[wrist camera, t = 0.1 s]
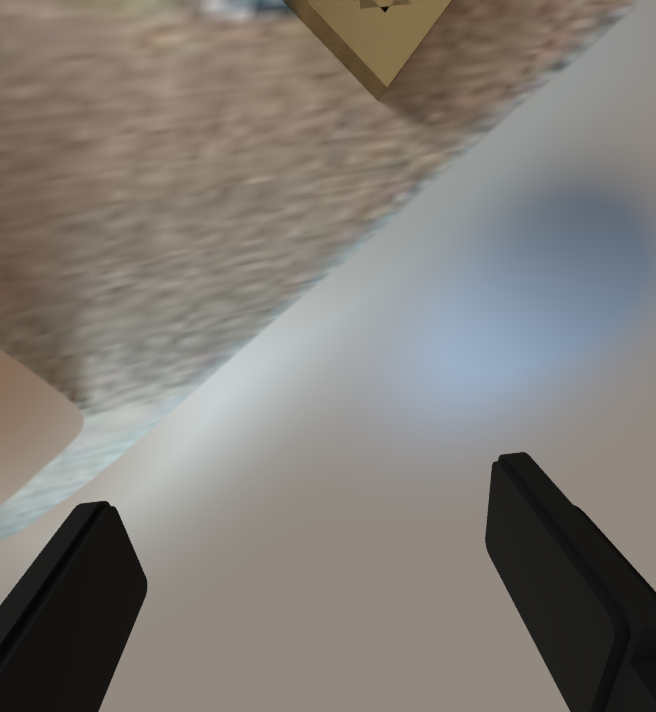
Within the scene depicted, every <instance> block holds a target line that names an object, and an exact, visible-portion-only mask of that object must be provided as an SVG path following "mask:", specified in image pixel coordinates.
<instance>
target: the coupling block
mask: <svg viewBox="0 0 656 712" xmlns="http://www.w3.org/2000/svg"><path fill="white" fill-rule="evenodd" d="M283 1H284V2H285V4H286V5H287V6H288V7H289V8H290V9H291V10H292V11H293V12H294V13H295V14H296V15H297V16H298V17H299V18H300V19H301V20H302V21H303V22H304V24H305V25H306V26H307V27H308V28H309V29H310V30H311V31H312V32H313V33H314V34H315V35H316V36H317V37H318V38H319V39H320V40H321V41H322V42H323V43H324V45H325V46H326V47H327V48H328V49H329V50H330V51H331V52H332V53H333V54H334V55H335V56H336V57H337V58H338V59H339V60H340V61H341V62H342V63H343V65H344V66H345V67H346V68H347V69H348V70H349V71H350V72H351V73H352V74H353V75H354V76H355V77H356V78H357V79H358V80H359V81H360V82H361V83H362V84H363V86H364V87H365V88H366V89H367V90H368V91H369V92H370V93H371V94H372V95H373V96H374V97H375V98H376V99H377V100H379V98H380V97H381V96H382V94H383V93H384V92H385V90H386V89H387V88H388V86H389V85H390V84H391V82H392V81H393V80H394V78H395V77H396V75H397V74H398V73H399V71H400V70H401V69H402V67H403V66H404V65H405V63H406V62H407V61H408V59H409V58H410V57H411V55H412V54H413V52H414V51H415V50H416V48H417V47H418V46H419V44H420V43H421V42H422V40H423V39H424V38H425V36H426V35H427V34H428V32H429V31H430V29H431V28H432V27H433V25H434V24H435V23H436V21H437V20H438V19H439V17H440V16H441V15H442V13H443V12H444V11H445V9H446V8H447V6H448V5H449V4H450V2H451V1H452V0H283Z"/></svg>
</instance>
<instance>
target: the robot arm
mask: <svg viewBox="0 0 656 712" xmlns="http://www.w3.org/2000/svg"><path fill="white" fill-rule="evenodd" d="M485 542H486V548H487V551H488V554H489V556H490V558H491V560H492V562H493V563H494V565H495V567H496V569H497V571H498V573H499V575H500V577H501V579H502V581H503V583H504V584H505V587H506V589H507V590H508V592H509V594H510V596H511V598H512V600H513V602H514V604H515V606H516V608H517V610H518V612H519V614H520V616H521V617H522V619H523V621H524V623H525V625H526V627H527V629H528V631H529V633H530V635H531V637H532V639H533V641H534V643H535V644H536V646H537V648H538V650H539V652H540V654H541V656H542V658H543V660H544V662H545V664H546V666H547V668H548V669H549V671H550V673H551V675H552V677H553V679H554V681H555V683H556V685H557V687H558V689H559V691H560V693H561V695H562V696H563V698H564V700H565V702H566V704H567V706H568V708H569V710H570V712H656V592H655V591H654V590H653V588H652V587H651V586H650V585H649V584H648V583H647V582H646V580H645V579H644V578H643V577H642V576H641V575H640V574H639V573H638V572H637V571H636V569H635V568H634V567H633V566H632V565H631V564H630V563H629V562H628V560H627V559H626V558H625V557H624V556H623V555H622V554H621V553H620V552H619V550H618V549H617V548H616V547H615V546H614V545H613V544H612V543H611V542H610V540H608V538H607V537H606V536H605V535H604V534H603V533H602V532H601V531H600V529H599V528H598V527H597V526H596V525H595V524H594V523H593V522H592V521H591V519H590V518H589V517H588V516H587V515H586V514H585V513H584V512H583V511H582V510H581V509H580V508H579V507H577V506H575V505H573V504H572V503H571V502H570V501H569V500H568V499H567V498H566V496H564V494H563V493H562V492H561V491H560V490H559V488H558V487H557V486H556V485H555V484H554V483H553V482H552V481H551V479H550V478H549V477H548V476H547V475H546V474H545V473H544V471H543V470H542V469H541V468H540V467H539V466H538V465H537V464H536V462H535V461H534V460H533V459H532V458H531V457H530V456H529V455H528V454H527V453H525V452H520V453H512V454H503V455H500V456H499V458H498V461H496V462H493V464H492V472H491V483H490V493H489V504H488V515H487V526H486V537H485ZM146 593H147V579H146V576H145V574H144V572H143V570H142V567H141V565H140V562H139V560H138V558H137V556H136V553H135V551H134V548H133V546H132V544H131V541H130V539H129V537H128V534H127V532H126V530H125V527H124V525H123V523H122V520H121V518H120V516H119V513H118V511H117V509H116V508H115V507H114V506H110V504H109V503H108V502H107V501H99V502H91V503H83V504H79V505H77V506H76V507H75V508H74V509H73V511H72V512H71V513H70V515H69V516H68V517H67V519H66V520H65V521H64V522H63V524H62V525H61V527H60V528H59V529H58V530H57V532H56V533H55V534H54V536H53V537H52V538H51V540H50V541H49V542H48V544H47V545H46V546H45V547H44V549H43V550H42V551H41V553H40V554H39V555H38V557H37V558H36V559H35V561H34V562H33V563H32V565H31V566H30V567H29V569H28V570H27V571H26V572H25V574H24V575H23V576H22V578H21V579H20V580H19V582H18V583H17V584H16V585H15V587H14V588H13V589H12V591H11V592H10V594H9V595H8V596H7V597H6V599H5V600H4V601H3V603H2V604H1V605H0V712H98V711H99V708H100V706H101V704H102V701H103V699H104V696H105V694H106V691H107V689H108V687H109V684H110V682H111V679H112V677H113V674H114V672H115V669H116V667H117V664H118V662H119V660H120V657H121V655H122V652H123V650H124V648H125V645H126V642H127V640H128V638H129V635H130V633H131V631H132V628H133V626H134V623H135V621H136V618H137V616H138V613H139V611H140V608H141V606H142V604H143V601H144V599H145V596H146Z"/></svg>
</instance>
